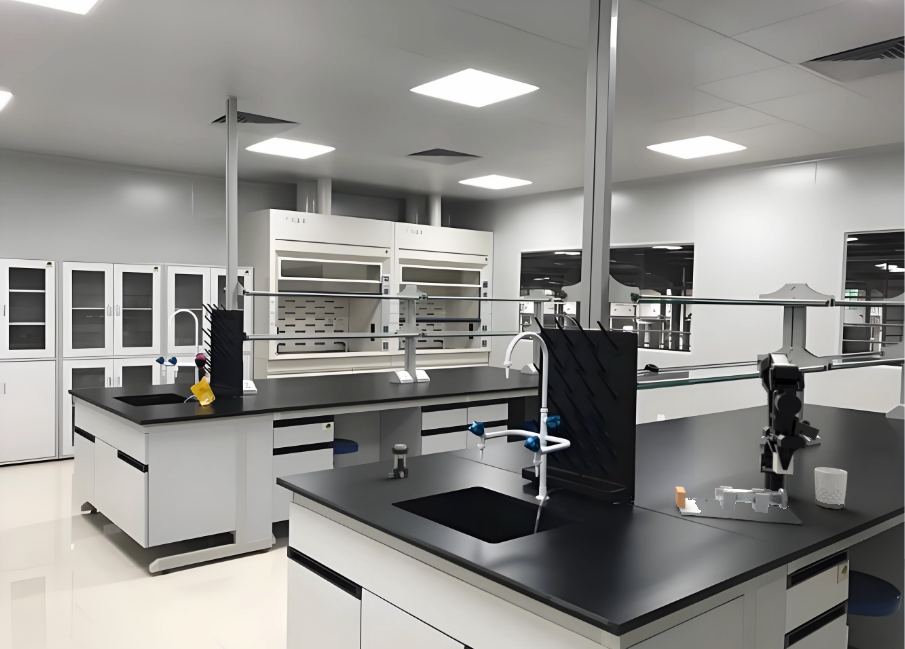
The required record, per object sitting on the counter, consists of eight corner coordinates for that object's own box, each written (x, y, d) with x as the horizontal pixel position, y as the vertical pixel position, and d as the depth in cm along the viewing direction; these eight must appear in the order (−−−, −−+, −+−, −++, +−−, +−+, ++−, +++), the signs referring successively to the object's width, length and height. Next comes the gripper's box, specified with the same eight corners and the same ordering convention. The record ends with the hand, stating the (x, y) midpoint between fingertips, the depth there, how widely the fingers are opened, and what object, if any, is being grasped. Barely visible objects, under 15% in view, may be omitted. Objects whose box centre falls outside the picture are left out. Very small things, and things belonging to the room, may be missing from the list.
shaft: (714, 500, 181) (714, 482, 181) (782, 505, 178) (782, 486, 177) (717, 505, 177) (717, 486, 176) (787, 511, 173) (787, 491, 173)
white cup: (846, 505, 187) (847, 469, 187) (846, 512, 180) (847, 475, 180) (814, 500, 191) (815, 465, 191) (813, 507, 184) (814, 471, 184)
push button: (392, 480, 204) (393, 448, 204) (384, 476, 209) (384, 444, 209) (411, 477, 208) (412, 445, 208) (402, 474, 213) (403, 442, 212)
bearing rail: (673, 500, 188) (674, 479, 188) (787, 509, 181) (788, 487, 181) (678, 515, 174) (679, 492, 174) (802, 525, 168) (802, 501, 168)
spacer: (772, 470, 184) (773, 452, 184) (788, 471, 183) (788, 452, 183) (777, 473, 180) (777, 454, 180) (793, 474, 179) (793, 455, 179)
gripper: (829, 417, 171) (827, 478, 171) (804, 408, 189) (803, 463, 189) (782, 415, 173) (780, 475, 173) (762, 406, 191) (761, 460, 191)
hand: (782, 468), depth 181 cm, fingers closed on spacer, 4 cm apart
